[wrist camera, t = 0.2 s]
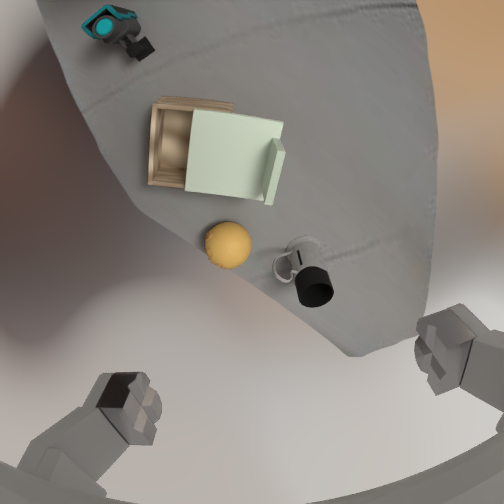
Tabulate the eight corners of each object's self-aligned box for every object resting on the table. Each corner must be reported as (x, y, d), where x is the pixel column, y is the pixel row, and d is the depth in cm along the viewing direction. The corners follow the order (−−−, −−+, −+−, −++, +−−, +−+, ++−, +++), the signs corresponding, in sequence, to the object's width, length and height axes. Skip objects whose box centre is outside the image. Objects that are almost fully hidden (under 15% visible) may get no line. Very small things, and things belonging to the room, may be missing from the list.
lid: (194, 108, 43) (187, 118, 37) (282, 121, 45) (290, 133, 39) (185, 188, 52) (179, 209, 46) (264, 198, 54) (268, 220, 48)
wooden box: (163, 95, 48) (152, 103, 42) (232, 102, 50) (232, 111, 44) (157, 167, 57) (148, 184, 51) (220, 174, 59) (219, 192, 53)
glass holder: (308, 268, 76) (320, 313, 65) (259, 250, 72) (264, 296, 60) (327, 243, 72) (344, 287, 60) (277, 222, 67) (286, 266, 56)
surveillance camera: (110, 70, 34) (79, 26, 29) (135, 64, 44) (109, 28, 38) (140, 47, 33) (107, 2, 27) (159, 47, 42) (133, 9, 37)
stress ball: (242, 209, 66) (205, 216, 59) (268, 243, 63) (232, 254, 56) (224, 238, 72) (189, 247, 66) (246, 270, 69) (212, 283, 62)
